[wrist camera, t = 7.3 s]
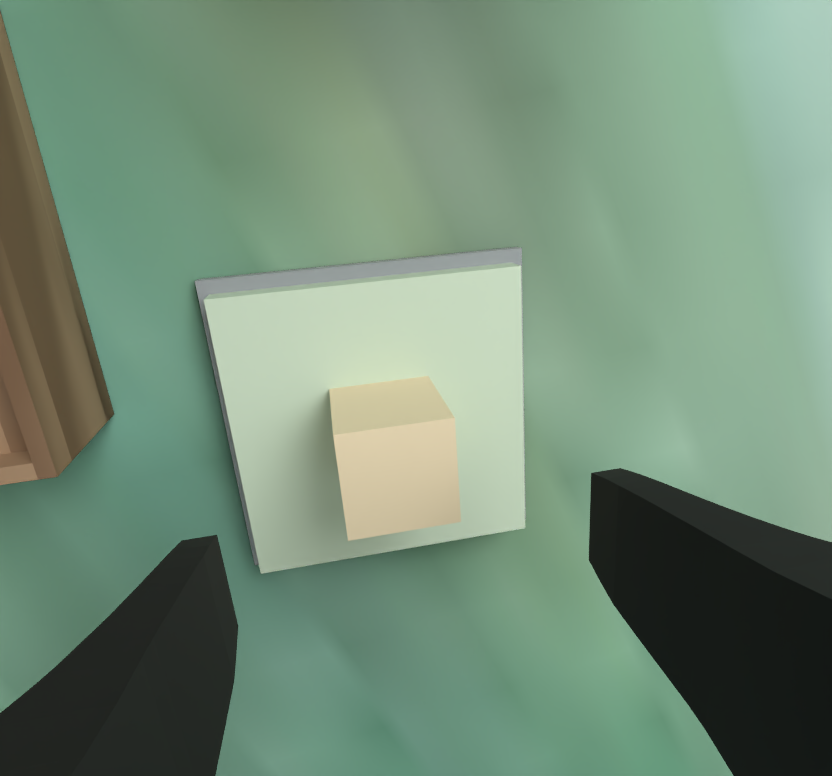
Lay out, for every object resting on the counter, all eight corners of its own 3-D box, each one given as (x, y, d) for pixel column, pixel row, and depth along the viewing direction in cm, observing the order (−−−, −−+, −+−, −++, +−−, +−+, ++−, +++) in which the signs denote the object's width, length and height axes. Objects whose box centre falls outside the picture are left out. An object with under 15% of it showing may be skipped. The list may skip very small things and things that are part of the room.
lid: (262, 558, 18) (250, 654, 14) (209, 294, 15) (175, 328, 11) (516, 514, 19) (566, 593, 15) (511, 262, 16) (571, 283, 12)
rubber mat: (256, 557, 18) (254, 565, 18) (197, 279, 15) (194, 281, 15) (521, 512, 19) (525, 519, 19) (516, 246, 16) (521, 247, 16)
